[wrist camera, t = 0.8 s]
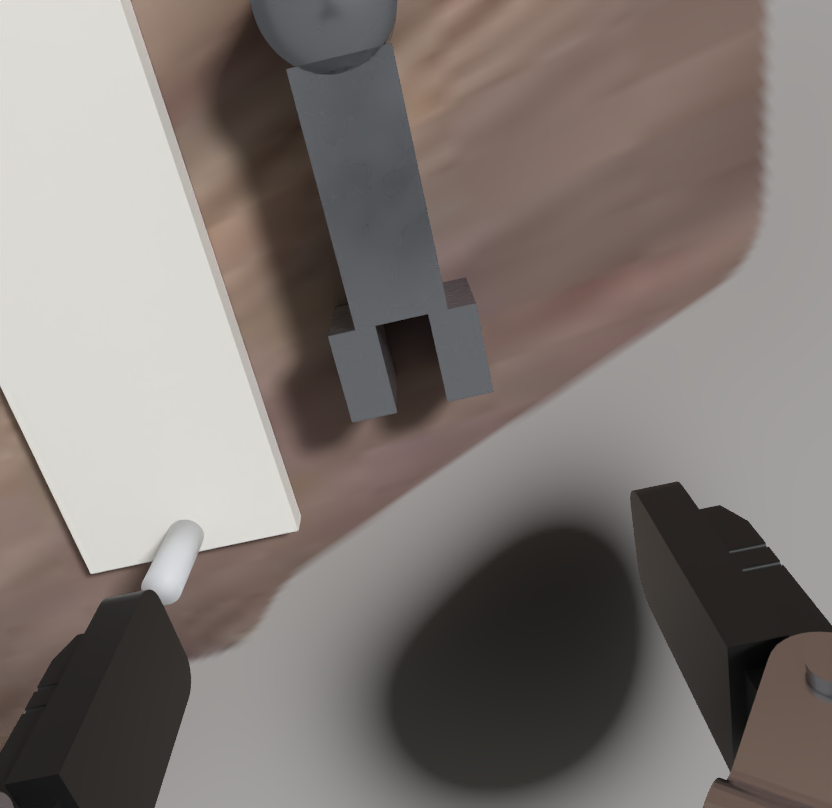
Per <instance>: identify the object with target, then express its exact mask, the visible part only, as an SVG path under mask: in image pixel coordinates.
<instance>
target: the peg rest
mask: <svg viewBox="0 0 832 808" xmlns="http://www.w3.org/2000/svg"><path fill="white" fill-rule="evenodd" d="M0 386H1V388H2V391H3V393H4V395H5V397H6V399H7V401H8V403H9V405H10V407H11V409H12V411H13V413H14V415H15V418H16V420H17V422H18V424H19V426H20V428H21V430H22V432H23V434H24V436H25V438H26V440H27V443H28V445H29V447H30V449H31V451H32V453H33V455H34V457H35V459H36V461H37V463H38V465H39V467H40V470H41V472H42V474H43V476H44V478H45V480H46V482H47V484H48V486H49V488H50V490H51V492H52V495H53V497H54V499H55V501H56V503H57V505H58V507H59V509H60V511H61V513H62V515H63V517H64V519H65V522H66V524H67V526H68V528H69V530H70V532H71V534H72V536H73V538H74V540H75V542H76V544H77V547H78V549H79V551H80V553H81V555H82V557H83V559H84V561H85V563H86V565H87V567H88V569H89V571H90V574H94V573H99V572H103V571H108V570H113V569H118V568H122V567H127V566H132V565H137V564H142V563H146V562H151V561H153V562H152V564H151V566H150V568H149V570H148V572H147V574H146V576H145V578H144V580H143V582H142V585H141V589H142V591H143V590H148V589H150V590H153V591H155V592H156V593H157V595H158V596H159V598H160V600H161V602H162V604H163V605H169V604H172V603H174V602H176V601H177V600H178V599H179V597H180V595H181V593H182V591H183V588H184V586H185V583H186V581H187V578H188V576H189V574H190V571H191V569H192V566H193V564H194V562H195V559H196V557H197V554H198V552H199V551H204V550H209V549H213V548H218V547H223V546H228V545H232V544H237V543H242V542H247V541H252V540H256V539H261V538H266V537H271V536H275V535H280V534H285V533H290V532H295V531H298V530H299V525H300V520H301V515H300V512H299V509H298V506H297V503H296V500H295V497H294V494H293V491H292V487H291V484H290V481H289V478H288V475H287V472H286V469H285V466H284V463H283V460H282V457H281V454H280V451H279V448H278V445H277V442H276V439H275V436H274V433H273V430H272V427H271V424H270V421H269V418H268V415H267V412H266V409H265V406H264V403H263V400H262V397H261V394H260V391H259V388H258V385H257V382H256V379H255V376H254V373H253V370H252V367H251V364H250V361H249V358H248V355H247V352H246V349H245V346H244V343H243V340H242V337H241V333H240V330H239V327H238V324H237V321H236V318H235V315H234V312H233V309H232V306H231V303H230V300H229V297H228V294H227V291H226V288H225V285H224V282H223V279H222V276H221V273H220V270H219V267H218V264H217V261H216V258H215V255H214V252H213V249H212V246H211V243H210V240H209V237H208V234H207V231H206V228H205V225H204V222H203V219H202V216H201V213H200V210H199V207H198V204H197V201H196V198H195V195H194V192H193V189H192V186H191V183H190V179H189V176H188V173H187V170H186V167H185V164H184V161H183V158H182V155H181V152H180V149H179V146H178V143H177V140H176V137H175V134H174V131H173V128H172V125H171V122H170V119H169V116H168V113H167V110H166V107H165V104H164V101H163V98H162V95H161V92H160V89H159V86H158V83H157V80H156V77H155V74H154V71H153V68H152V65H151V62H150V59H149V56H148V53H147V50H146V47H145V44H144V41H143V38H142V35H141V32H140V28H139V25H138V22H137V19H136V16H135V13H134V10H133V7H132V4H131V1H130V0H0Z"/></svg>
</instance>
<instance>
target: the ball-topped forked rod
mask: <svg viewBox="0 0 832 808" xmlns="http://www.w3.org/2000/svg"><path fill="white" fill-rule="evenodd" d="M250 2H251V7H252V11H253V14H254V17H255V20H256V23H257V25H258V27H259V29H260V32H261V33H262V35H263V36H264V38H265V40H266V41H267V43H268V44H269V45H270V46H271V48H272V49H273V50H274V51H275V52H276V53H277V54H278V55H279V56H280V57H282V58H283V59H284V60H285V61H287V62H288V63H290V64H292V65H293V66H295V67H293V68H289V69H286V71H287V75H288V79H289V83H290V86H291V90H292V94H293V98H294V101H295V105H296V109H297V113H298V116H299V120H300V124H301V128H302V131H303V135H304V139H305V143H306V147H307V150H308V154H309V158H310V162H311V165H312V169H313V173H314V177H315V180H316V184H317V188H318V192H319V195H320V199H321V203H322V207H323V210H324V214H325V218H326V222H327V225H328V229H329V233H330V237H331V241H332V244H333V248H334V252H335V256H336V259H337V263H338V267H339V271H340V274H341V278H342V282H343V286H344V289H345V293H346V297H347V301H348V305H343V306H339V307H335V310H334V314H333V318H332V322H331V326H330V330H329V334H328V339H329V342H330V346H331V349H332V353H333V357H334V360H335V364H336V367H337V371H338V374H339V378H340V381H341V385H342V388H343V392H344V395H345V399H346V403H347V406H348V410H349V413H350V417H351V420H352V423H353V422H357V421H362V420H367V419H371V418H376V417H380V416H385V415H390V414H394V413H397V379H396V372H395V368H394V364H393V360H392V356H391V352H390V348H389V344H388V340H387V336H386V332H385V328H384V324H386V323H390V322H395V321H399V320H404V319H408V318H413V317H417V316H422V315H426V314H428V316H429V320H430V325H431V329H432V334H433V338H434V343H435V347H436V352H437V356H438V361H439V365H440V370H441V374H442V379H443V383H444V388H445V392H446V397H447V401H448V402H450V401H454V400H459V399H464V398H468V397H473V396H477V395H482V394H487V393H491V392H493V387H492V382H491V377H490V372H489V367H488V362H487V357H486V351H485V346H484V341H483V336H482V331H481V326H480V321H479V316H478V310H477V305H476V302H475V299H474V297H473V294H472V292H471V289H470V287H469V284H468V282H467V279H466V278H463V279H458V280H454V281H449V282H445V283H442V279H441V274H440V269H439V264H438V260H437V255H436V250H435V246H434V241H433V236H432V231H431V227H430V222H429V217H428V212H427V208H426V203H425V198H424V193H423V189H422V184H421V179H420V175H419V170H418V165H417V160H416V156H415V151H414V146H413V141H412V137H411V132H410V127H409V123H408V118H407V113H406V108H405V104H404V99H403V94H402V89H401V85H400V80H399V75H398V70H397V66H396V61H395V56H394V52H393V47H392V43H391V44H388V43H389V41H390V38H391V36H392V33H393V30H394V26H395V21H396V12H397V0H250Z"/></svg>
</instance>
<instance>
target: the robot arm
mask: <svg viewBox="0 0 832 808" xmlns="http://www.w3.org/2000/svg"><path fill="white" fill-rule="evenodd" d="M630 500H631V510H632V519H633V527H634V537H635V545H636V554H637V563H638V570H639V575H640V580H641V584H642V587H643V591H644V594H645V597H646V600H647V602H648V604H649V607H650V609H651V611H652V613H653V615H654V617H655V619H656V621H657V623H658V625H659V627H660V629H661V631H662V633H663V635H664V637H665V640H666V642H667V644H668V646H669V648H670V650H671V652H672V654H673V656H674V658H675V660H676V662H677V664H678V666H679V668H680V670H681V672H682V674H683V676H684V678H685V680H686V682H687V684H688V687H689V688H690V690H691V692H692V695H693V697H694V699H695V701H696V703H697V705H698V707H699V709H700V711H701V713H702V715H703V717H704V719H705V721H706V723H707V725H708V727H709V729H710V731H711V733H712V735H713V737H714V739H715V742H716V744H717V745H718V748H719V750H720V752H721V754H722V756H723V758H724V760H725V762H726V764H727V766H728V768H729V770H730V775H729V777H728V779H727V780H724V779H722V778H717V779H716V780H715V781H714V782H713V784H712V786H711V788H710V790H709V792H708V795H707V797H706V800H705V802H704V805H703V808H832V625H831V624H830V623H829V622H828V620H827V619H826V618H825V617H824V615H823V614H822V613H821V612H820V610H819V609H818V608H817V607H816V605H815V604H814V603H813V602H812V600H811V599H810V598H809V597H808V595H807V594H806V593H805V592H804V590H803V589H802V588H801V587H800V585H799V584H798V583H797V582H796V581H795V579H794V578H793V577H792V575H791V574H790V573H789V572H788V570H787V569H786V568H785V567H784V566H783V565H782V566H781V564H780V560H779V559H778V558H777V557H776V556H775V554H774V553H773V552H772V550H771V549H770V548H769V547H766V544H765V542H764V540H763V539H762V538H761V537H760V535H759V534H758V533H757V532H756V530H755V529H754V528H753V527H752V525H751V524H750V523H749V522H748V521H747V520H745V519H743V518H742V517H740V516H738V515H736V514H735V513H733V512H731V511H729V510H727V509H726V508H724V507H722V506H720V505H719V506H714V507H709V508H704V509H698V507H697V506H696V504H695V503H694V501H693V500H692V499H691V497H690V496H689V494H688V493H687V492H686V490H685V489H684V488H683V486H682V485H681V484H680V483H679V482H673V483H668V484H663V485H658V486H653V487H649V488H644V489H639V490H634V491H632V492H631V496H630ZM190 688H191V673H190V666H189V662H188V659H187V656H186V654H185V651H184V649H183V647H182V645H181V643H180V641H179V638H178V636H177V634H176V632H175V630H174V628H173V625H172V623H171V621H170V619H169V617H168V615H167V612H166V610H165V608H164V606H163V604H162V602H161V600H160V598H159V596H158V595H157V593H156V592H155V591H153V590H150V589H148V590H143V591H139V592H134V593H129V594H124V595H119V596H114V597H110V598H106V599H104V600H103V601H102V602H101V604H100V605H99V607H98V609H97V611H96V613H95V615H94V616H93V618H92V620H91V622H90V624H89V626H88V628H87V630H86V632H85V633H84V634H80V635H77V636H76V637H75V638H74V639H73V640H72V641H71V642H70V643H69V644H68V645H67V646H66V647H65V648H64V649H63V650H62V651H61V652H60V653H59V654H58V655H57V656H56V657H55V658H54V659H53V660H52V662H51V664H50V665H49V667H48V669H47V671H46V673H45V674H44V676H43V678H42V680H41V681H40V683H39V685H38V692H34V694H33V696H32V697H31V699H30V701H29V703H28V705H27V706H26V708H25V710H26V713H25V714H22V715H21V717H20V719H19V721H18V722H17V724H16V726H15V728H14V729H13V731H12V733H11V735H10V737H9V738H8V740H7V742H6V744H5V745H4V747H3V749H2V751H1V753H0V808H154V807H155V804H156V801H157V798H158V795H159V791H160V788H161V785H162V782H163V778H164V775H165V772H166V769H167V766H168V762H169V759H170V756H171V753H172V750H173V746H174V743H175V740H176V737H177V734H178V730H179V727H180V724H181V721H182V717H183V714H184V711H185V708H186V705H187V702H188V698H189V695H190Z"/></svg>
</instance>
